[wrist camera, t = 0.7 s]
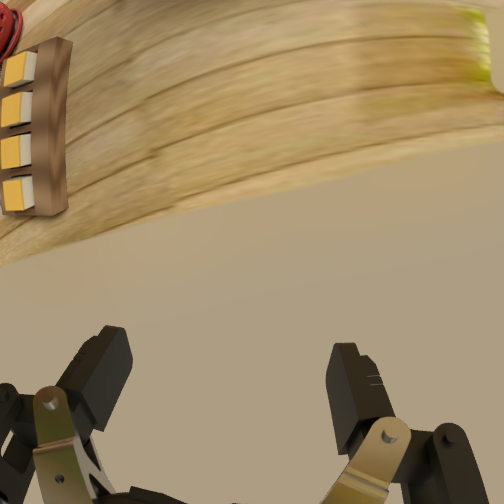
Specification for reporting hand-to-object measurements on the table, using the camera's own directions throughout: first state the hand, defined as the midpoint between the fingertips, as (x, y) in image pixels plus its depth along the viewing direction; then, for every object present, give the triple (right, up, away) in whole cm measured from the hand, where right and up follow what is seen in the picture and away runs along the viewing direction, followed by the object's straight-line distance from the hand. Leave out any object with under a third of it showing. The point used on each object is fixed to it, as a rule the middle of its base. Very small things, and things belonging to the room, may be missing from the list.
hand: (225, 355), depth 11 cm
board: (-31, +22, +21) cm, 44 cm away
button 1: (-30, +30, +16) cm, 45 cm away
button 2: (-31, +24, +18) cm, 43 cm away
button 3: (-31, +19, +20) cm, 42 cm away
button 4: (-32, +13, +23) cm, 41 cm away
